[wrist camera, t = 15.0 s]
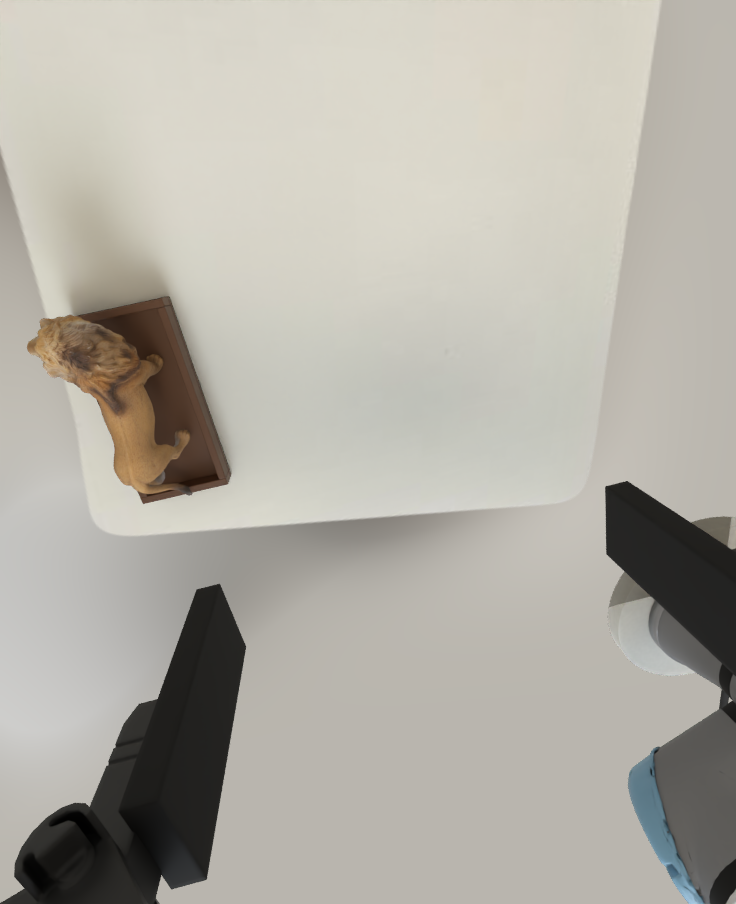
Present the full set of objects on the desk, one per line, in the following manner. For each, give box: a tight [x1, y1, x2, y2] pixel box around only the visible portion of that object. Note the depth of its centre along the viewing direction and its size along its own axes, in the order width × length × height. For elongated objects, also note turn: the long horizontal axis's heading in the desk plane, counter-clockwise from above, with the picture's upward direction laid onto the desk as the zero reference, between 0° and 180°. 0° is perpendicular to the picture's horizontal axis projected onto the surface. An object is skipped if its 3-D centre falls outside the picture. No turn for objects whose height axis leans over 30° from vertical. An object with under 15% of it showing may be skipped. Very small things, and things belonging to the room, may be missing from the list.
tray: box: [76, 297, 231, 504], centre depth 36 cm, size 15×7×2 cm, turn 11°
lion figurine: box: [27, 315, 192, 495], centre depth 32 cm, size 15×5×9 cm, turn 19°
